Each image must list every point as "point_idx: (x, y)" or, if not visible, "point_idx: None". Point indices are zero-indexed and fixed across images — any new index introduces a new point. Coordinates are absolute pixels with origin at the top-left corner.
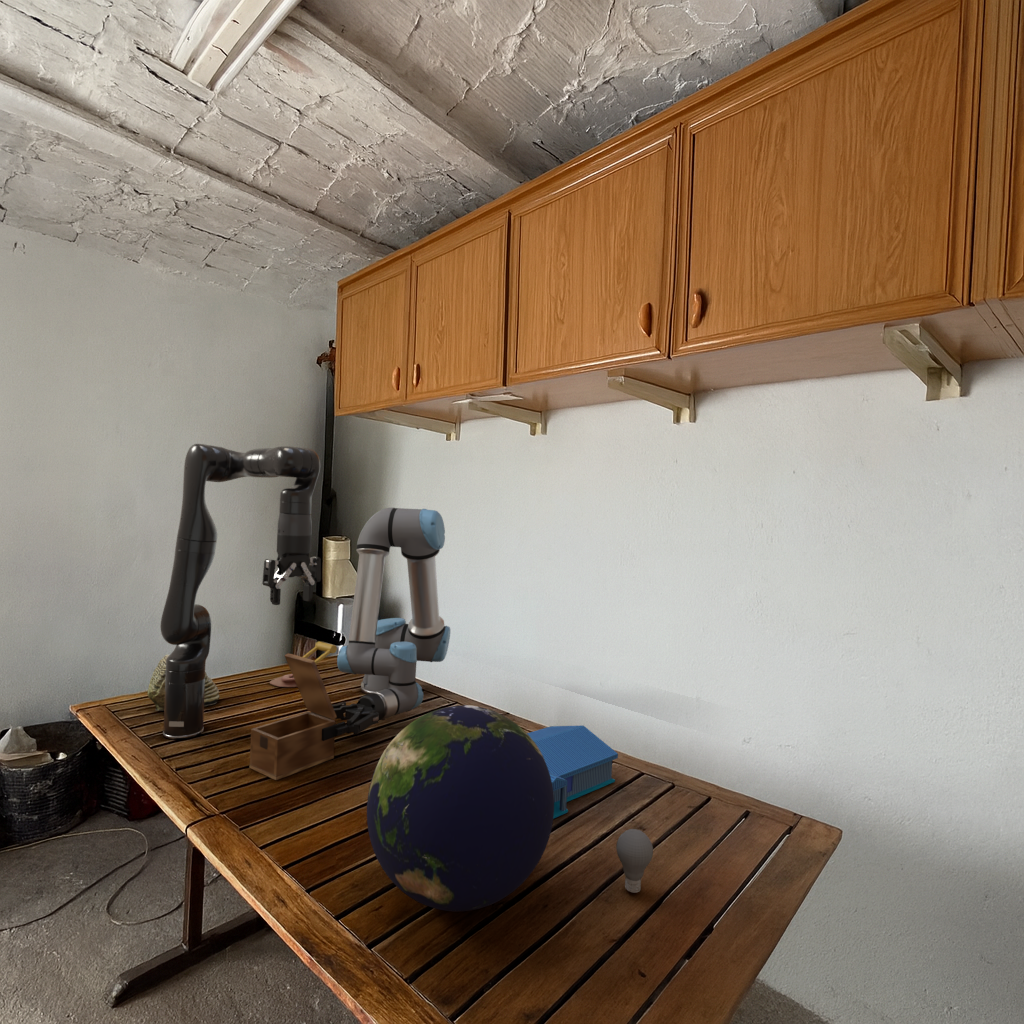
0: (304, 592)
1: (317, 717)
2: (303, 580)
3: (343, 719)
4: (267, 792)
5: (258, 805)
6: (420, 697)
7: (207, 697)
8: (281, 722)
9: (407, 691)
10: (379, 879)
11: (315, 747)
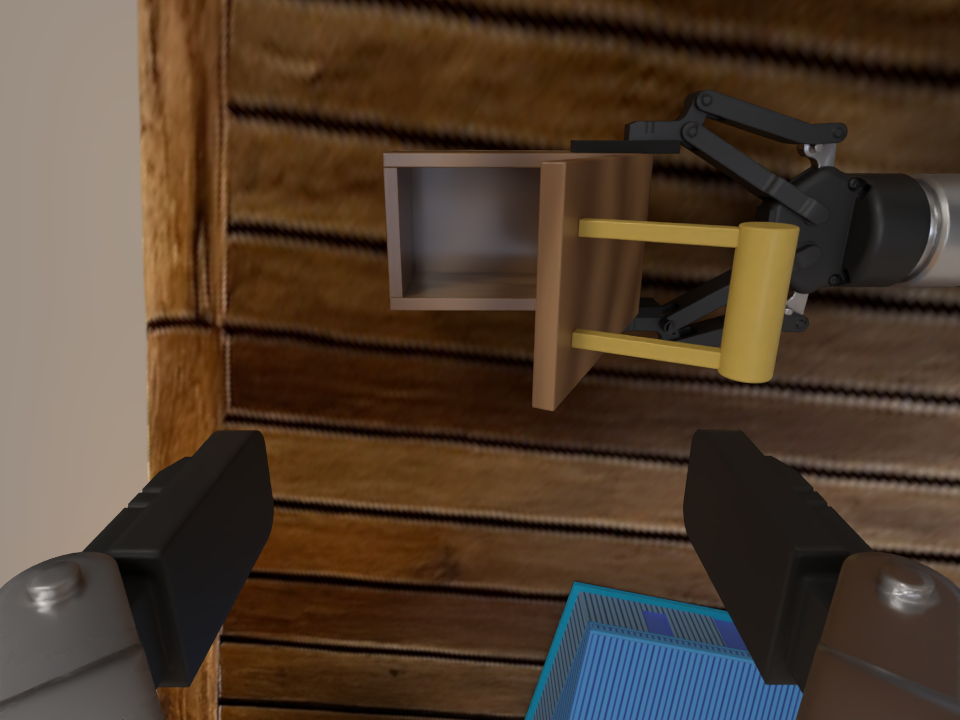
0: (735, 502)
1: None
2: (823, 633)
3: (754, 194)
4: (353, 320)
5: (304, 359)
6: None
7: None
8: (503, 167)
9: None
10: (317, 687)
11: None
